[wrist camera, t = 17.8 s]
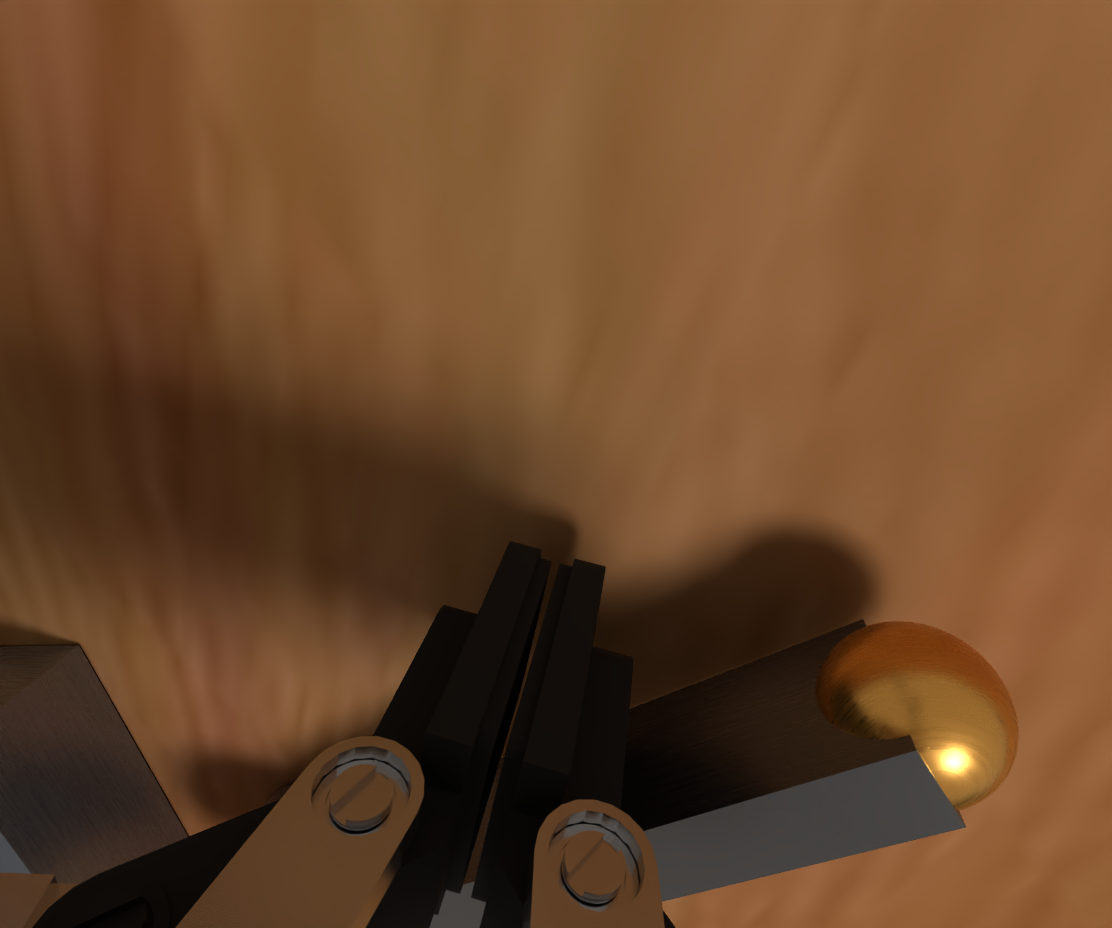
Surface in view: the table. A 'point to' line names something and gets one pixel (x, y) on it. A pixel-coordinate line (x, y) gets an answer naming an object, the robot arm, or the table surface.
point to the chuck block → (71, 772)
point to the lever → (804, 758)
